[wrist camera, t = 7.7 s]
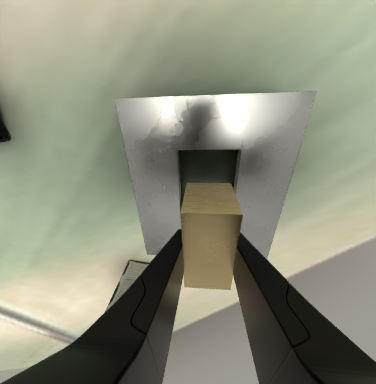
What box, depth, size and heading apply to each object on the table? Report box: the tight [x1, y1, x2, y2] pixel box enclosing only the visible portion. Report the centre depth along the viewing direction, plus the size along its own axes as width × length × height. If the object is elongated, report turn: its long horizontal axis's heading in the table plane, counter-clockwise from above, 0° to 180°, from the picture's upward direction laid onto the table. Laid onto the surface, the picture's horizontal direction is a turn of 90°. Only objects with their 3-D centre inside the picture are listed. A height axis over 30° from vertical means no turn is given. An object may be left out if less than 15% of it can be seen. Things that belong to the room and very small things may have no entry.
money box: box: [115, 91, 316, 259], centre depth 15 cm, size 12×14×5 cm
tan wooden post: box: [180, 183, 243, 290], centre depth 9 cm, size 2×5×3 cm, turn 1°
